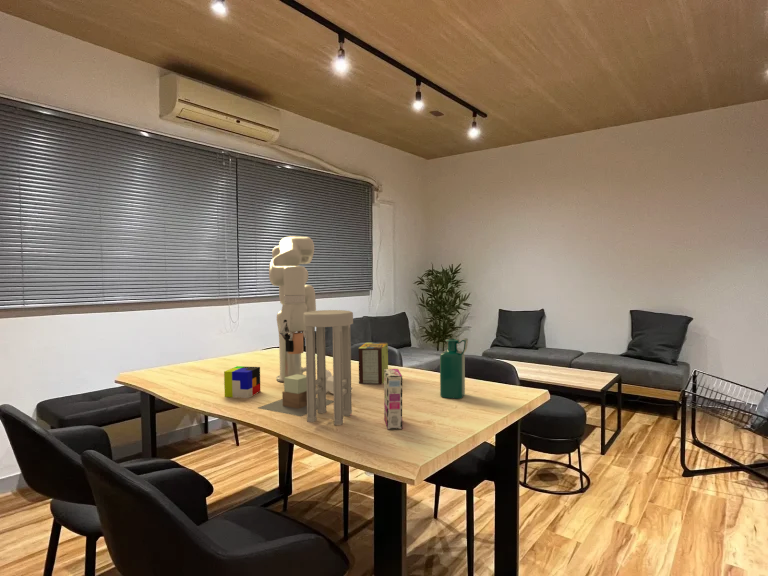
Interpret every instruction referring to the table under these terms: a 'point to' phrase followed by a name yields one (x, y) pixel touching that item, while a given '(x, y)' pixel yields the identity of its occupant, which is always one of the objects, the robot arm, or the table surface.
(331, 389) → the cream shape with stub
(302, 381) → the tower top
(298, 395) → the tower base
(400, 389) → the candy bar box
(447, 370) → the pitcher
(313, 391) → the stool
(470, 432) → the table surface
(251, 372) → the puzzle toy
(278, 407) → the rubber mat
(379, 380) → the protein box
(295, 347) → the peach egg shape
